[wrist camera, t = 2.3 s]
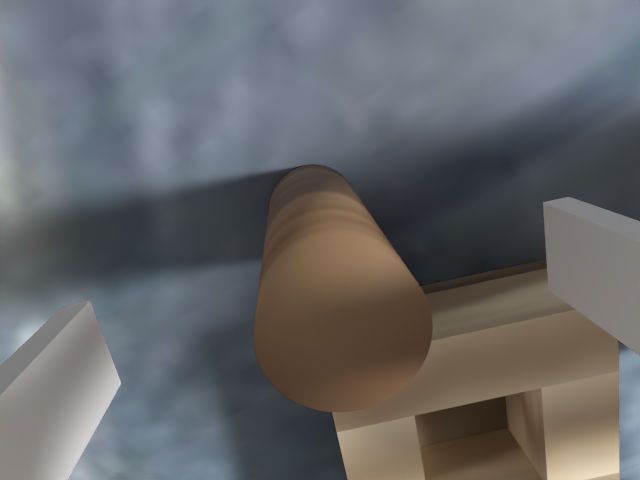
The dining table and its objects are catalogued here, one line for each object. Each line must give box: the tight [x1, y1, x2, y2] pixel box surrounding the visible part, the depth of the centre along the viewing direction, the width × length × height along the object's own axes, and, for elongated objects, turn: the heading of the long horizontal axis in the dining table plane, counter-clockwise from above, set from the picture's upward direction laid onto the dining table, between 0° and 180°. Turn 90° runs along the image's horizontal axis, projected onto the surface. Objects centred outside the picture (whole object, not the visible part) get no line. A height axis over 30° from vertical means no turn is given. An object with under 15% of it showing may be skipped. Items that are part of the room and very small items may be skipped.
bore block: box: [332, 259, 619, 480], centre depth 23 cm, size 12×12×5 cm
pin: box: [253, 165, 433, 412], centre depth 16 cm, size 4×4×12 cm
